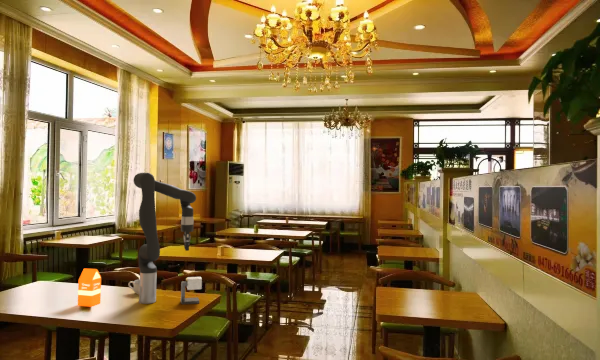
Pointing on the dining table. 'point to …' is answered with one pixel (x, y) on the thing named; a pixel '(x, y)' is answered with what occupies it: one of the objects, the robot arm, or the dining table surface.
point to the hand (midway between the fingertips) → (186, 249)
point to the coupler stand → (187, 300)
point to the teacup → (135, 285)
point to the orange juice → (89, 288)
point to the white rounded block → (194, 283)
